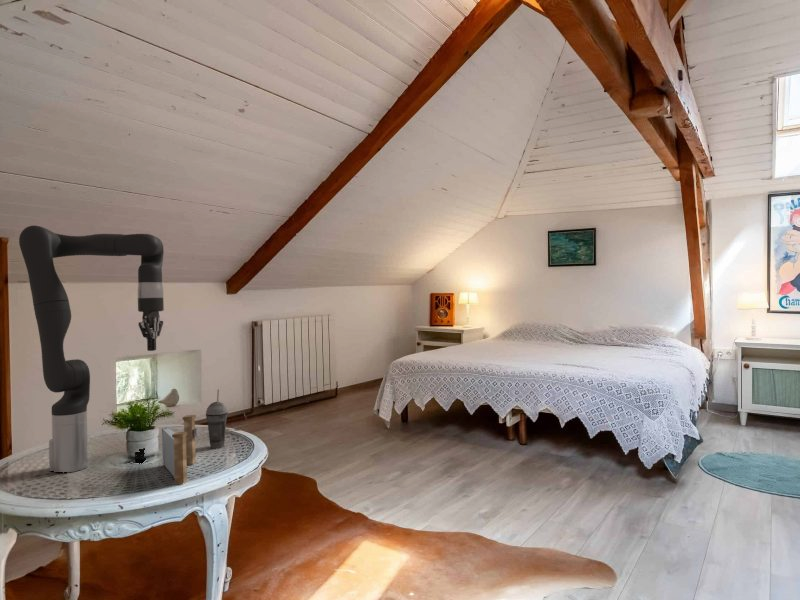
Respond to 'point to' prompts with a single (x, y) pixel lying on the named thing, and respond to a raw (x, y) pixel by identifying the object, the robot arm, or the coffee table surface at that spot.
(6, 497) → the coffee table surface
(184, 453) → the hinge post
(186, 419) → the post
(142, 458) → the black stepped block
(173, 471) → the gate
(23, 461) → the coffee table surface
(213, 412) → the beverage cup
